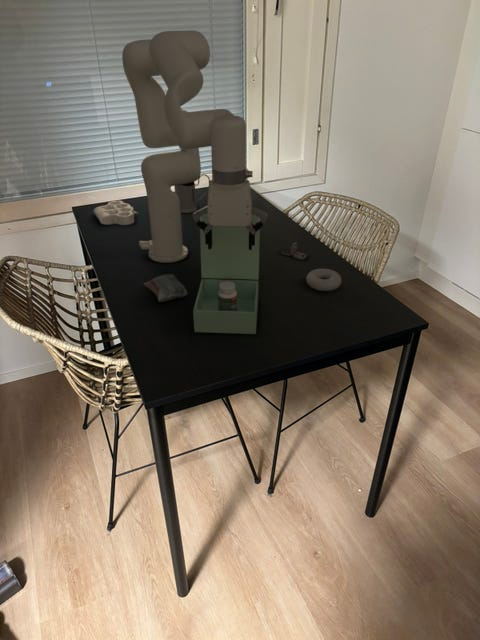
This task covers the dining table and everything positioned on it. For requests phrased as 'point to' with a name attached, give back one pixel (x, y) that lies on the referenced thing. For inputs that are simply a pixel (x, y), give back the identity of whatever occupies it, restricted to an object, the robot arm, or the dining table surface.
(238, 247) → the lunchbox lid
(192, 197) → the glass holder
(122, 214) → the beige paint palette tray
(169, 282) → the packaged food
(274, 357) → the dining table surface
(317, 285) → the donut
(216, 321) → the box
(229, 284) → the pill bottle
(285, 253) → the strap clip
